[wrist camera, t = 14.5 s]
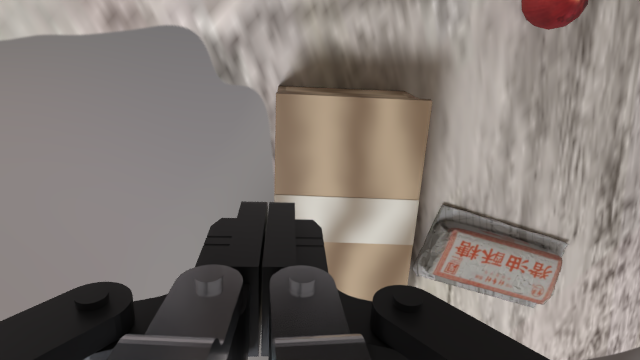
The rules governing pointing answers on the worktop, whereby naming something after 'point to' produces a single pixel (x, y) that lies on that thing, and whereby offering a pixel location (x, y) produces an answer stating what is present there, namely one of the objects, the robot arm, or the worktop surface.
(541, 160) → the worktop surface
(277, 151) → the carton lid
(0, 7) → the worktop surface
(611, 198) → the worktop surface
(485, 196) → the worktop surface
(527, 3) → the onion
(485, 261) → the packaged product
